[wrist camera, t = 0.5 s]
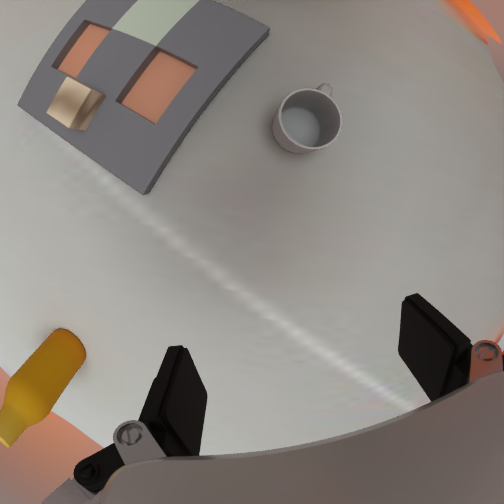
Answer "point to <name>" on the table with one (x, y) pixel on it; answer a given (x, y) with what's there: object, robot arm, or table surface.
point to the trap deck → (142, 76)
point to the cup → (307, 120)
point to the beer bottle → (39, 384)
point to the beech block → (75, 104)
